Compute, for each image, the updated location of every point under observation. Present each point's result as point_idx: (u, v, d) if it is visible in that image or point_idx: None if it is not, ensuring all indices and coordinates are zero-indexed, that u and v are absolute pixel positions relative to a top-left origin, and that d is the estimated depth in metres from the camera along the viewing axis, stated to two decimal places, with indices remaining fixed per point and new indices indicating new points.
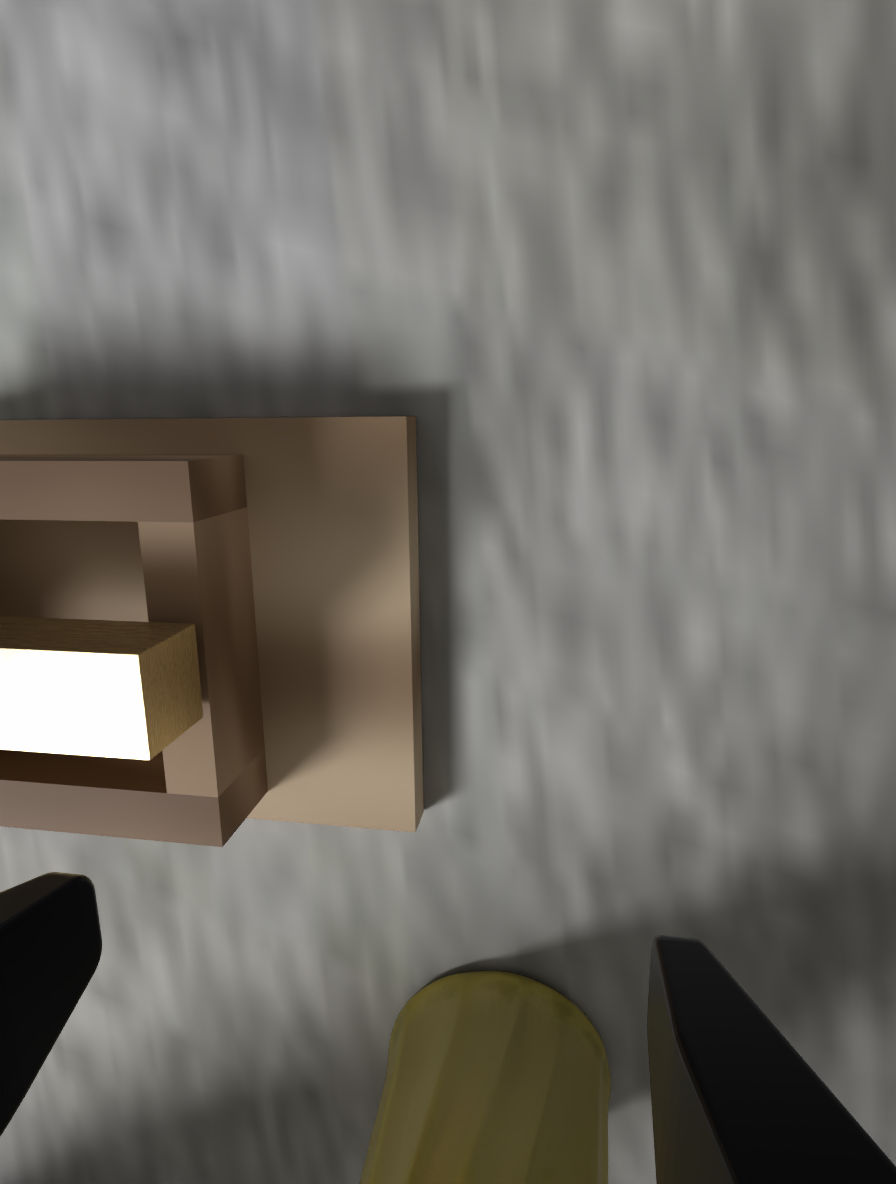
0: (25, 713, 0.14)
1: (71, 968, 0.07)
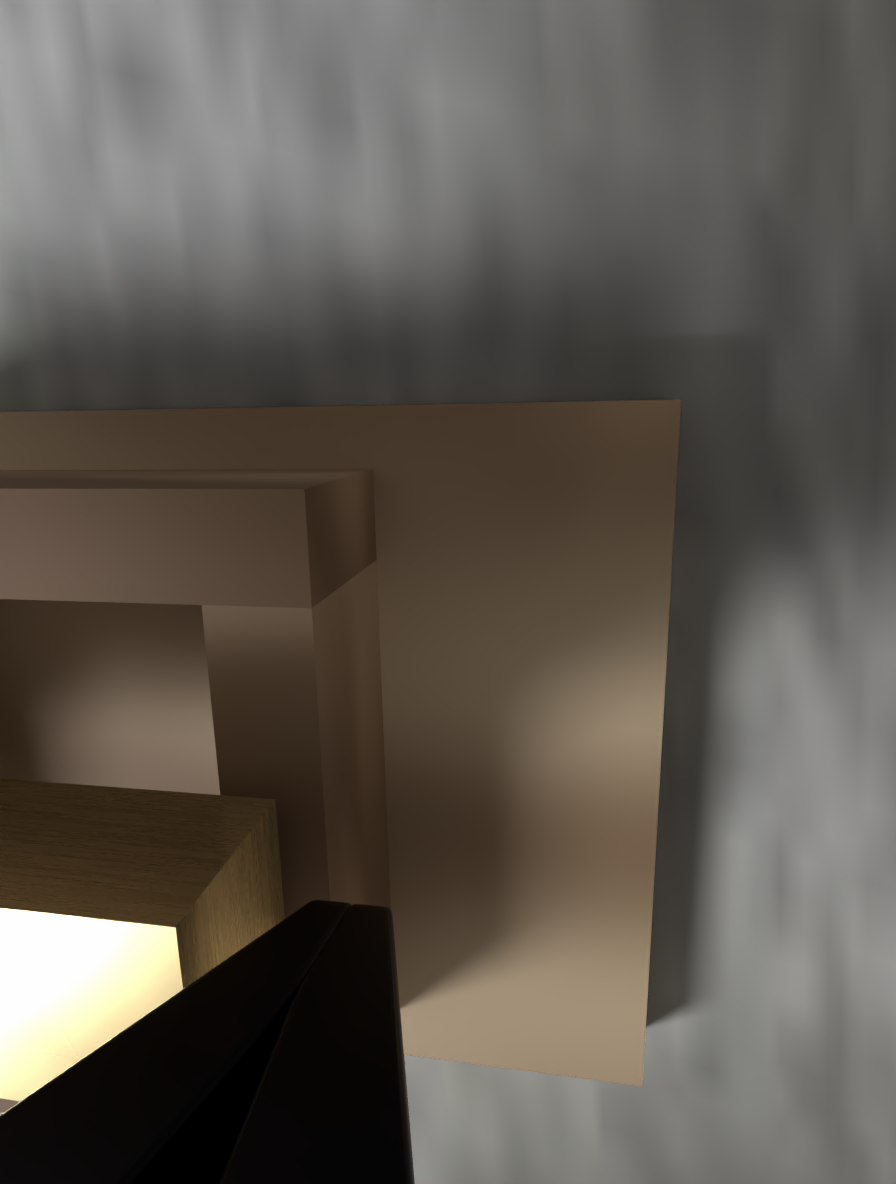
0: None
1: None
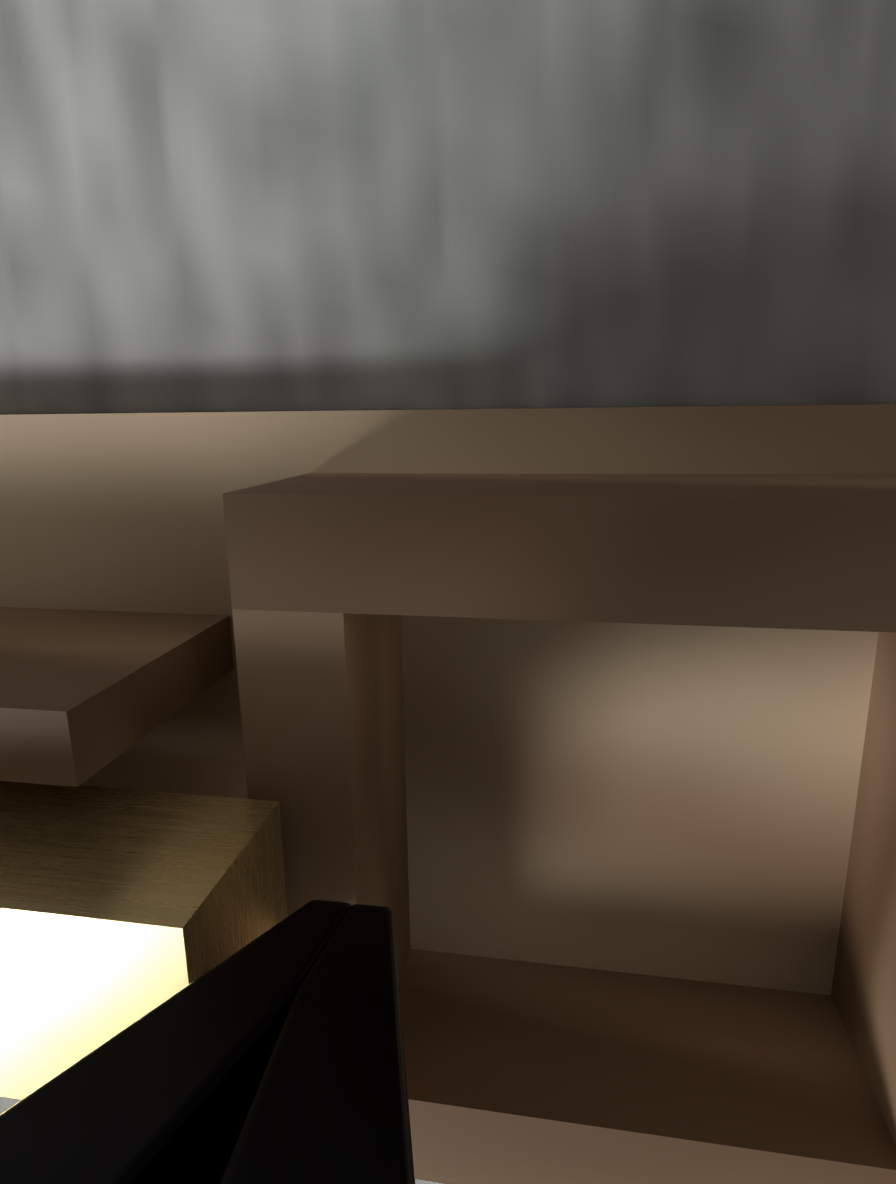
0: None
1: None
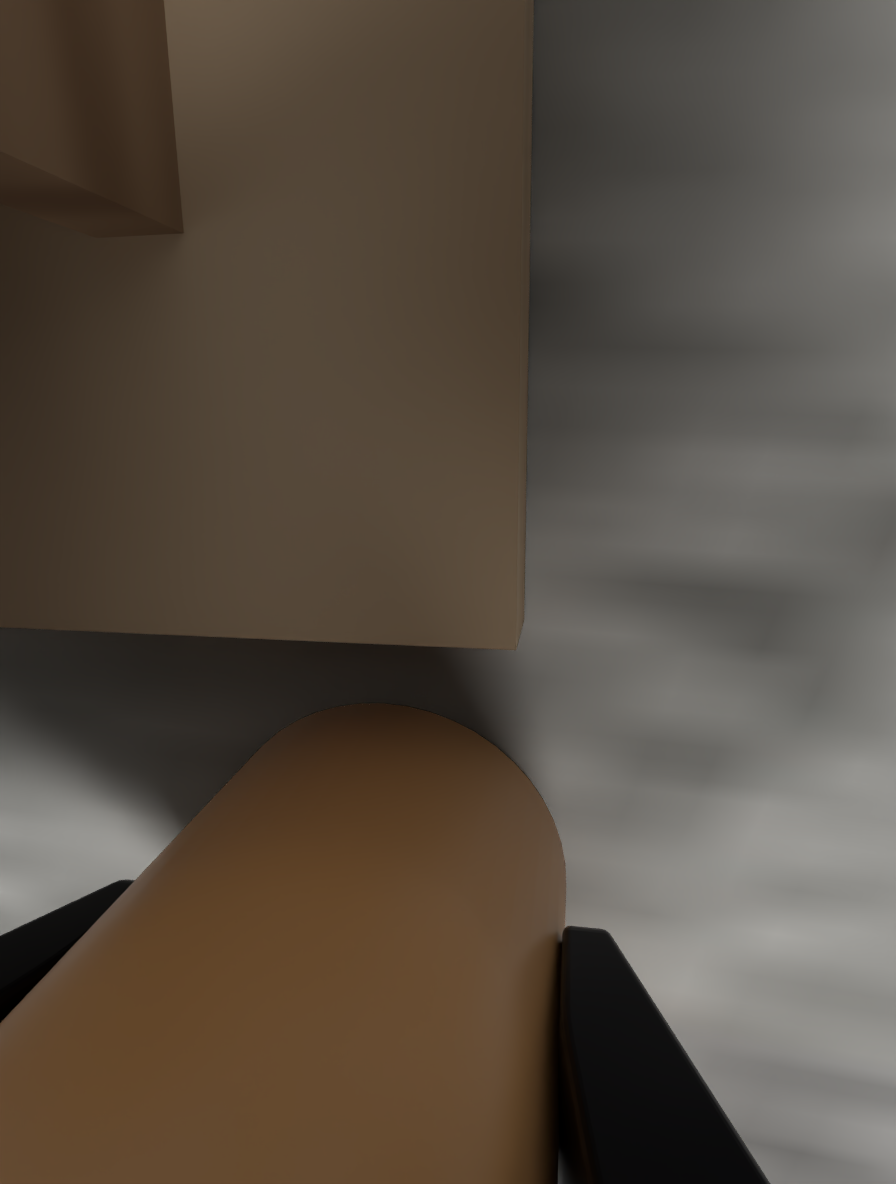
0: None
1: None
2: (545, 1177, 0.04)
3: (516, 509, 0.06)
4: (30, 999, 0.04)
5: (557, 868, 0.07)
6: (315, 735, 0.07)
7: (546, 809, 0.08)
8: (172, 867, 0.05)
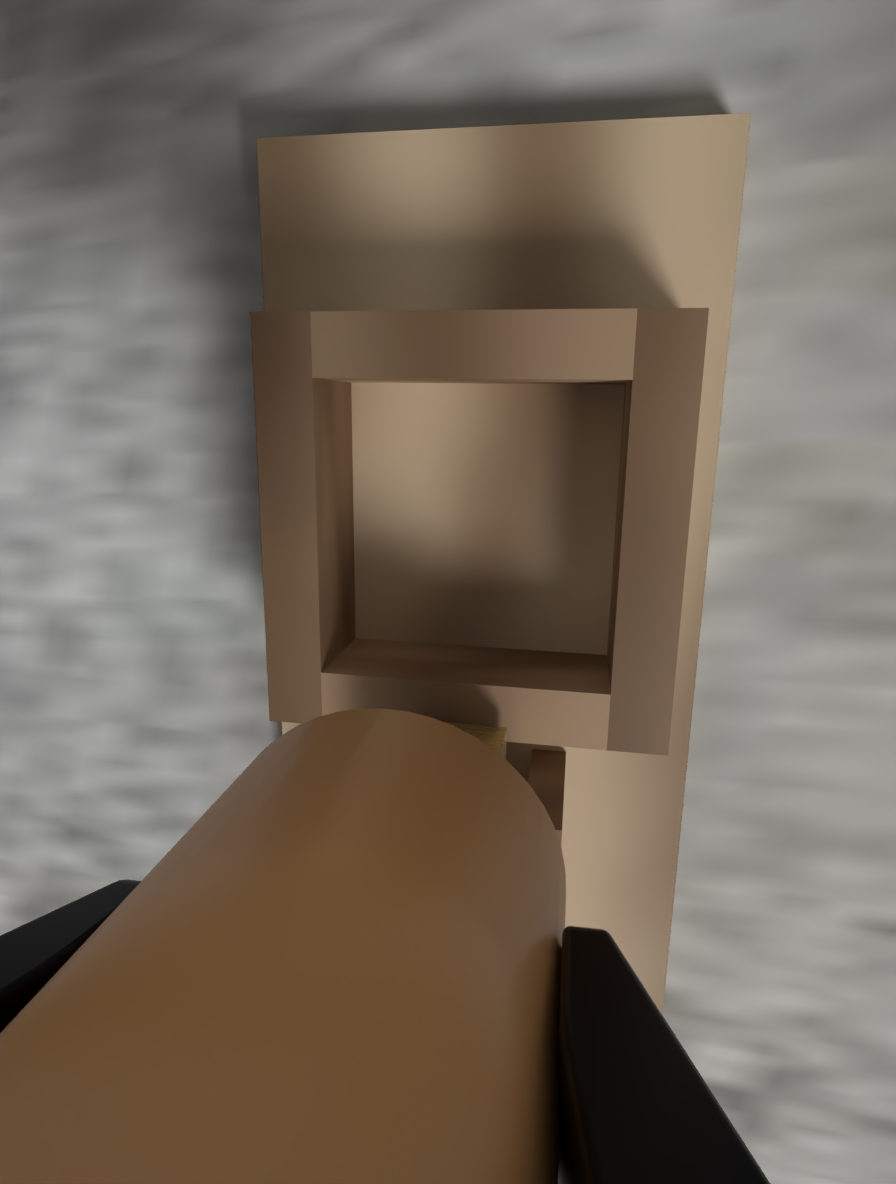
0: None
1: None
2: None
3: None
4: (32, 1007, 0.05)
5: (557, 873, 0.07)
6: (315, 741, 0.07)
7: (546, 814, 0.08)
8: (173, 873, 0.06)
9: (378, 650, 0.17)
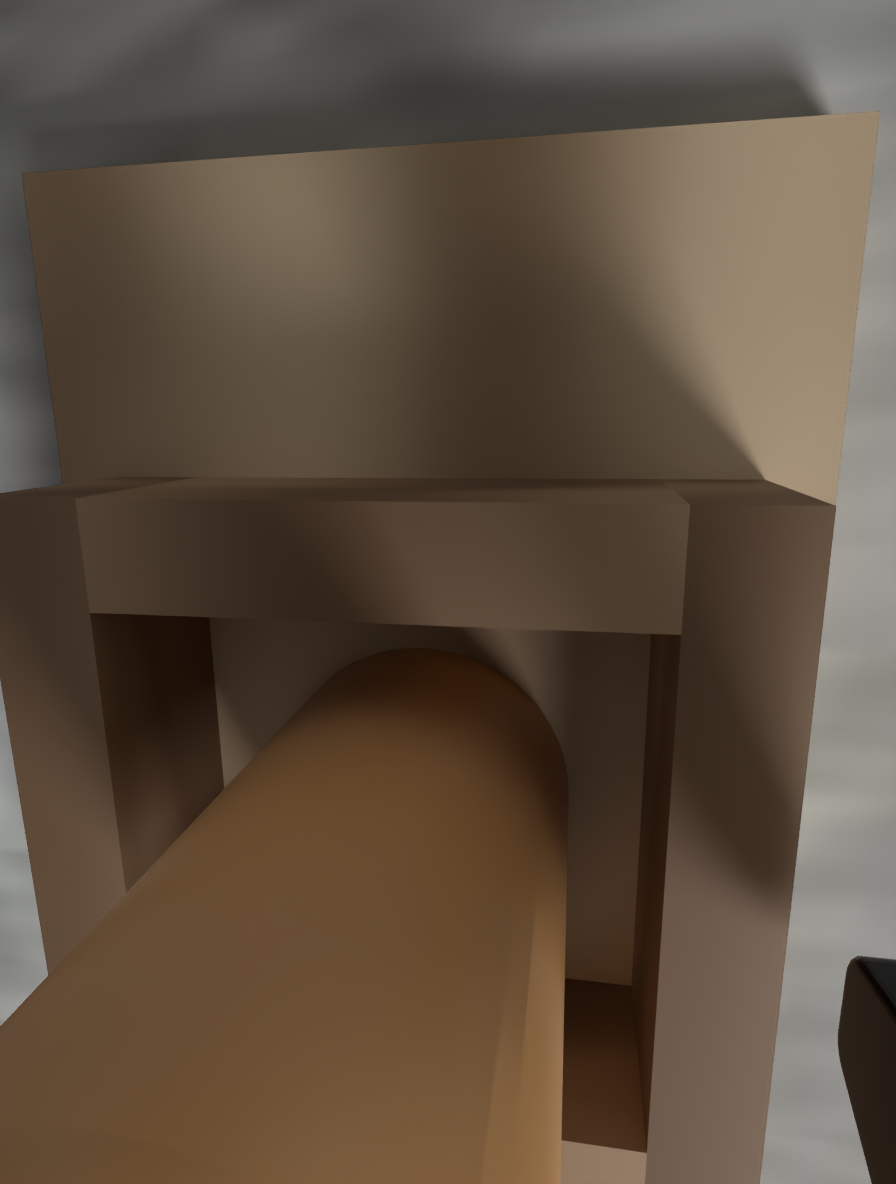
0: None
1: None
2: (556, 946, 0.06)
3: None
4: (198, 822, 0.06)
5: (562, 774, 0.09)
6: (370, 670, 0.09)
7: (552, 732, 0.10)
8: (279, 748, 0.07)
9: None
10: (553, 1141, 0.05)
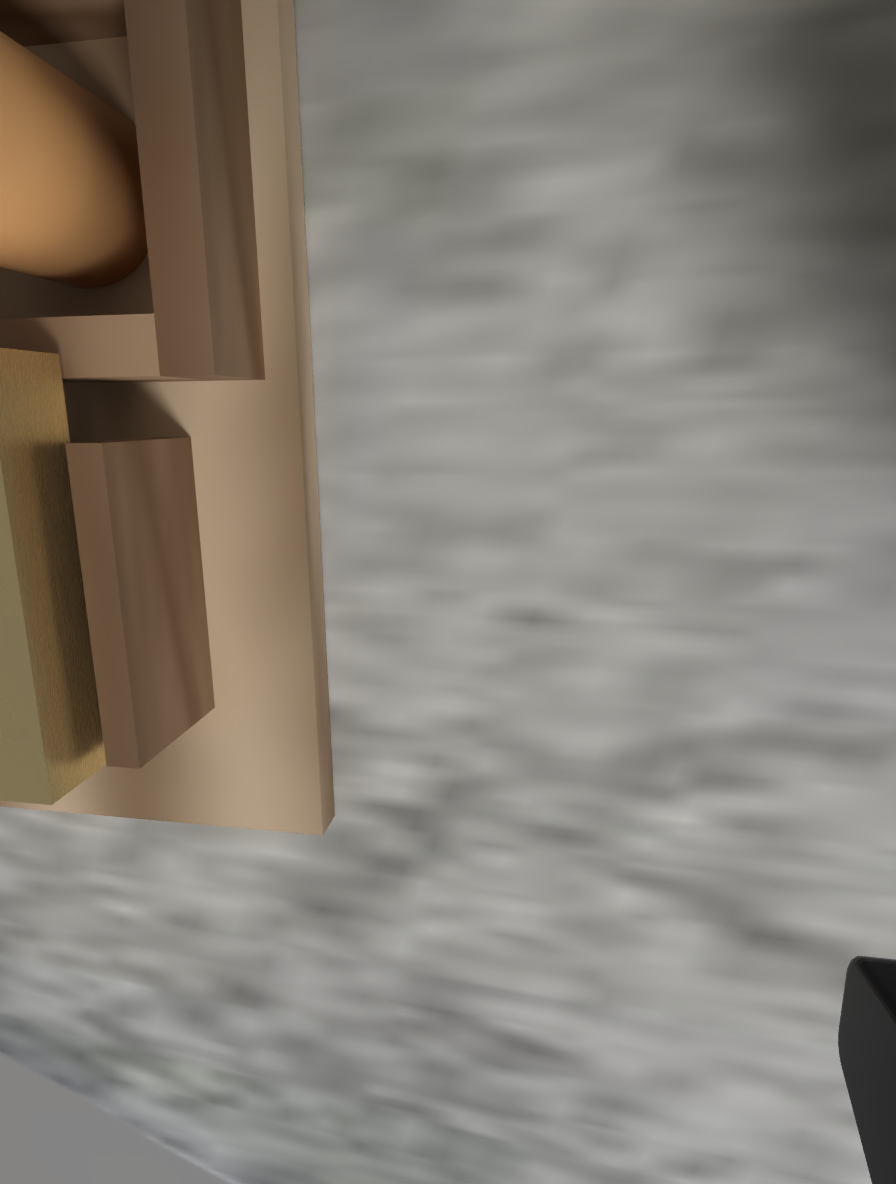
0: None
1: None
2: (42, 93, 0.13)
3: (319, 793, 0.20)
4: None
5: None
6: None
7: None
8: None
9: None
10: None
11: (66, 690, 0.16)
